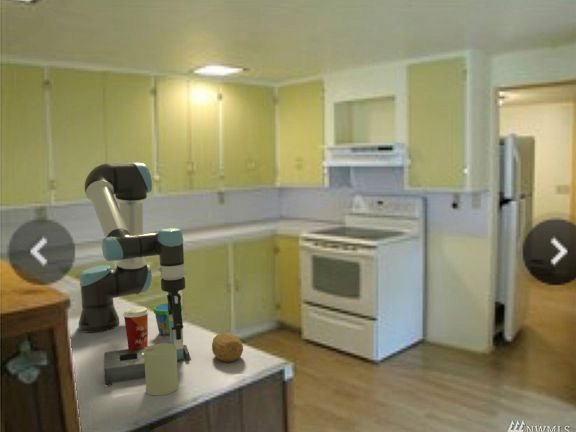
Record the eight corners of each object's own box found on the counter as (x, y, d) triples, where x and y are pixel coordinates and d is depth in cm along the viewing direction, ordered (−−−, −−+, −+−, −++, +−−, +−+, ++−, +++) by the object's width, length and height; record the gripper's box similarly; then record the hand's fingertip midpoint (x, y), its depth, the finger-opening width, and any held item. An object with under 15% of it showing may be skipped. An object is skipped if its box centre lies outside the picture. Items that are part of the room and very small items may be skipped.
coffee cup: (143, 357, 167) (141, 313, 166) (120, 356, 169) (117, 312, 167) (155, 348, 175) (152, 306, 174) (133, 347, 177) (130, 305, 175)
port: (105, 367, 160) (104, 351, 160) (151, 360, 165) (150, 345, 164) (105, 385, 147) (103, 368, 146) (154, 377, 151) (153, 360, 151)
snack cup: (183, 338, 185) (182, 311, 183) (153, 341, 183) (152, 313, 181) (183, 325, 200) (182, 299, 199) (156, 327, 198) (154, 302, 197)
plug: (171, 356, 166) (168, 314, 165) (182, 354, 167) (179, 313, 166) (172, 360, 163) (169, 317, 161) (183, 358, 164) (181, 316, 162)
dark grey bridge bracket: (163, 356, 168) (163, 348, 167) (188, 353, 170) (187, 344, 170) (166, 365, 160) (165, 356, 160) (191, 361, 163) (191, 352, 162)
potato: (233, 349, 172) (232, 326, 171) (250, 363, 160) (249, 339, 159) (205, 355, 168) (204, 332, 167) (221, 370, 155) (220, 345, 155)
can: (148, 382, 149) (146, 342, 147) (180, 380, 150) (178, 340, 148) (142, 396, 140) (140, 354, 138) (176, 394, 140) (174, 352, 139)
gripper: (157, 270, 173) (161, 331, 175) (164, 287, 149) (168, 357, 152) (180, 268, 175) (183, 328, 178) (190, 284, 152) (193, 353, 154)
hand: (176, 341), depth 165 cm, fingers open, 13 cm apart
